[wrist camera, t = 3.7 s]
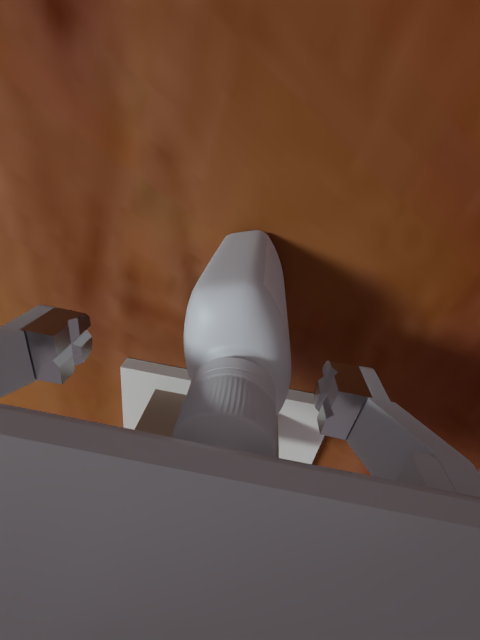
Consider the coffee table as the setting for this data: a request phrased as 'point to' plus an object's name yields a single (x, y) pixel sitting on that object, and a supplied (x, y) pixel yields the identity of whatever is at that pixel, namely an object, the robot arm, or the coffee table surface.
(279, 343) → the eye dropper bottle
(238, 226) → the coffee table surface
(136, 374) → the u rest
